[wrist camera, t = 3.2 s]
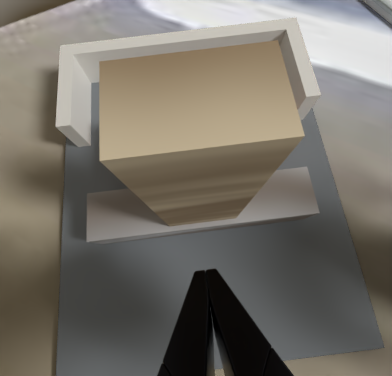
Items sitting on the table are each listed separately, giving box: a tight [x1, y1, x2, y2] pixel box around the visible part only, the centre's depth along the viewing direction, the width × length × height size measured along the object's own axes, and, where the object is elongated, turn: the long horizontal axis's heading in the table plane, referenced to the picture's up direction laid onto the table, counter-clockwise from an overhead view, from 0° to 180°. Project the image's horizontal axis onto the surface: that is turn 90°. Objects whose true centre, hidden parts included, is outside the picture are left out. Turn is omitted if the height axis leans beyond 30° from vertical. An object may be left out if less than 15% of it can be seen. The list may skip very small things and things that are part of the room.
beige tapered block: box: [86, 40, 320, 244], centre depth 11 cm, size 3×14×12 cm, turn 97°
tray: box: [56, 18, 321, 147], centre depth 18 cm, size 7×18×3 cm, turn 97°
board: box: [56, 82, 385, 376], centre depth 18 cm, size 24×20×1 cm
